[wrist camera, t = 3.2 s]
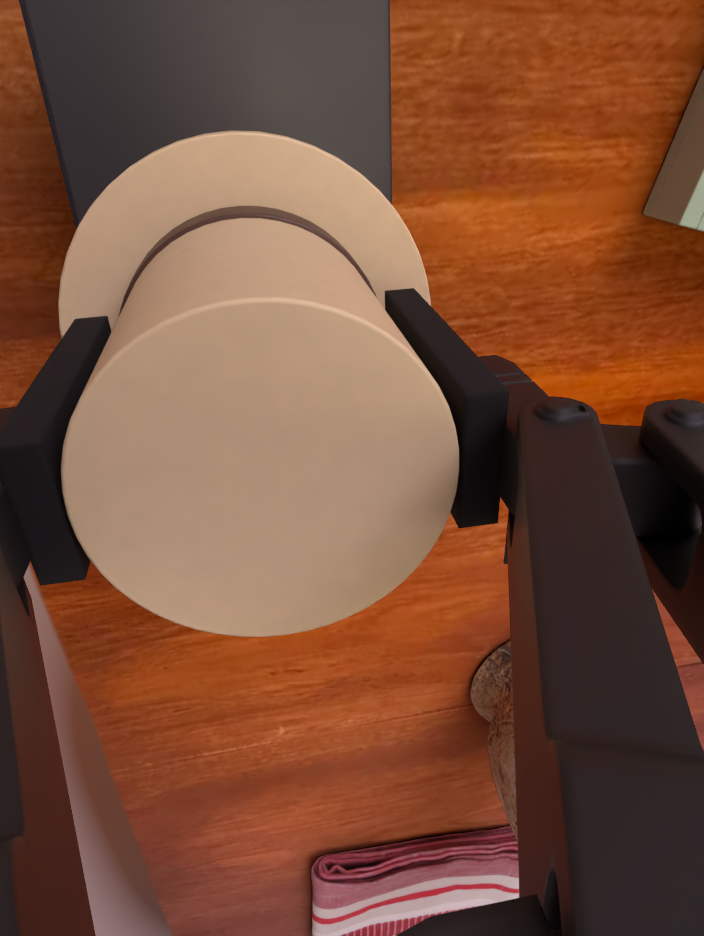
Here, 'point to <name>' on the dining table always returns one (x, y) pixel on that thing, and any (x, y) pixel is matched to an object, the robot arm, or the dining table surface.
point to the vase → (499, 724)
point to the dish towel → (412, 882)
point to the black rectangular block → (210, 79)
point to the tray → (683, 171)
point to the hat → (251, 390)
